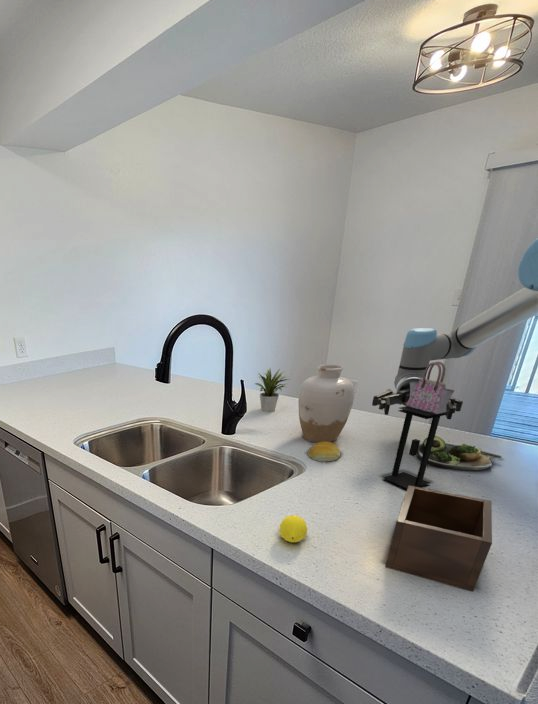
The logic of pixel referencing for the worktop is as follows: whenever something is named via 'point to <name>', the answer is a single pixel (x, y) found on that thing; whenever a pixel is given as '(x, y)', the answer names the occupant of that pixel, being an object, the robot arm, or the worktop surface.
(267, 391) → the house plant
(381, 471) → the worktop surface
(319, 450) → the bread roll
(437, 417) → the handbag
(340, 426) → the vase
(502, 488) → the worktop surface
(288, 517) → the lemon
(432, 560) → the open brown wooden box
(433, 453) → the salad plate
